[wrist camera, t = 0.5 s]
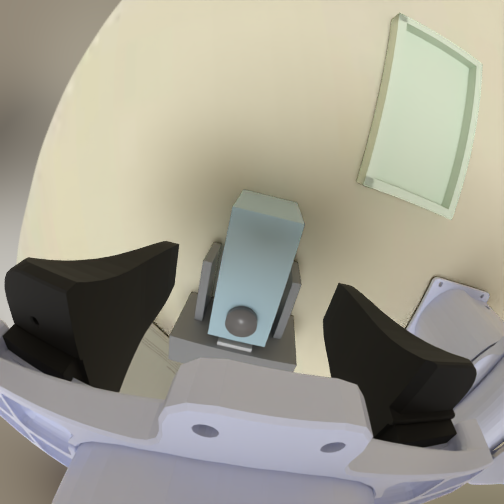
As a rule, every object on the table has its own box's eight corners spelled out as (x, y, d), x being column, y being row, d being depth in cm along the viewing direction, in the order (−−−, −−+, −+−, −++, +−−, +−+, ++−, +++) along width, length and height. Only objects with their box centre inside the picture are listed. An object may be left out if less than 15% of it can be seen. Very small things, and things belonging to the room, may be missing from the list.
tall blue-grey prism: (297, 202, 20) (306, 228, 14) (267, 304, 23) (264, 353, 18) (243, 189, 20) (230, 209, 14) (221, 293, 23) (205, 340, 18)
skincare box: (110, 328, 26) (40, 431, 13) (140, 304, 24) (58, 426, 11) (164, 377, 28) (121, 485, 15) (199, 360, 27) (159, 489, 13)
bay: (311, 265, 22) (322, 308, 16) (285, 337, 24) (285, 386, 19) (199, 238, 21) (174, 273, 16) (188, 314, 24) (168, 359, 19)
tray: (471, 66, 13) (482, 64, 12) (441, 214, 19) (451, 220, 17) (391, 20, 13) (399, 12, 11) (356, 181, 19) (363, 185, 17)
